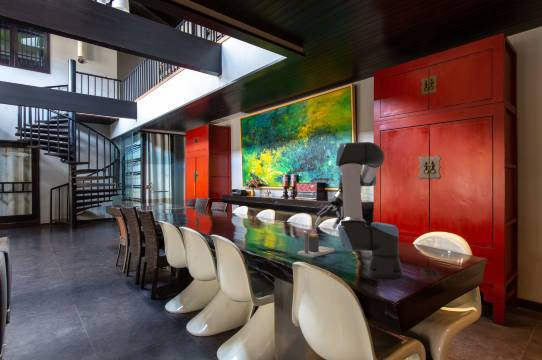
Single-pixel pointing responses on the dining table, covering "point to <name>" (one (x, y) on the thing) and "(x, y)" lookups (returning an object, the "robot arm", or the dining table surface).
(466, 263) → the dining table surface
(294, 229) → the bar
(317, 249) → the orange and black block
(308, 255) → the base plate with post
